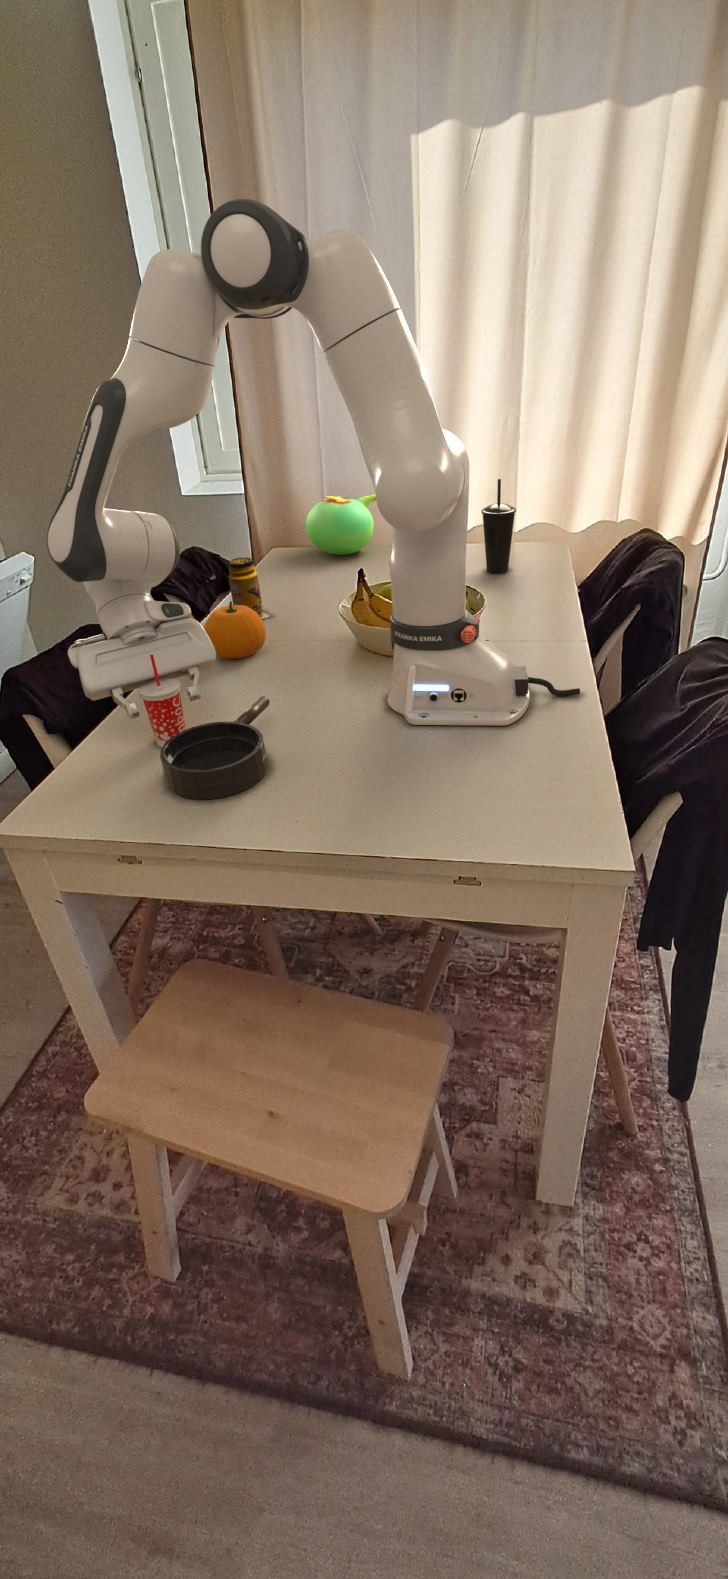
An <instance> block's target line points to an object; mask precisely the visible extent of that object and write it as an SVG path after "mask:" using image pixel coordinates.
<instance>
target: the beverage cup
mask: <svg viewBox="0 0 728 1579" xmlns="http://www.w3.org/2000/svg"><path fill="white" fill-rule="evenodd" d="M150 658H151V662H152V666H153V670H154V674H155V679H156V680H153V681H150V682H147V683H145V684H143V685H142V686H141V687H140V688H138V689H137V690H138V694H139V697H140V699H141V700H142V701H143V702H142V703H143V705H144V707H145V711H146V715H147V717H148V720H149V724H150V727H151V729H152V733H153V735H154V738H155V741H156V744H157V746H159V747H160V748H162V747H163V745H164V744H165V743H166V742H167V741H168V740H169V739H170V738H171V737H173V736H175V735H176V734H178V733H180V732H182V731H184V730H186V722H185V717H184V709H183V704H182V698H181V690H182V687H181V683H180V681H179V680H177V679H176V678H175V679H169V678H165V679H159V677H158V673H157V669H156V664H155V660H154V656H153V655H150Z"/></svg>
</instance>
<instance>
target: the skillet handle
mask: <svg viewBox="0 0 728 1579" xmlns="http://www.w3.org/2000/svg"><path fill="white" fill-rule="evenodd" d="M270 702H271V701H270V699H269V697H268V696H265V695H263V696H260V697H259V698H258V699H257V700H256V701H254V702H253V703H252V704H251V705H250V706H249V707H248V708H247V709H246V710H245V711H244V712H243V713H242V714H241V715H240V716H239V717H238V718H236V719H235V720H233V721H232V722H241V723H245V724H248V725H251V724H252V723H253V722H254V721H255V720H256V719H257V718H258V717H259V716H260V715H261V714H262V713H263V712H264V711H265V710H266V709H267V708H268V707H269V705H270V704H271V703H270ZM230 727H231V728H230V729H232V730H231V732H232V731H233V732H234V731H235V732H236V733H237V731H238V730H239V731H238V733H241V729H239V728H240V726H231V725H230ZM237 727H239V728H238V729H237ZM234 729H235V730H234Z"/></svg>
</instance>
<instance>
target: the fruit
mask: <svg viewBox="0 0 728 1579" xmlns="http://www.w3.org/2000/svg"><path fill="white" fill-rule="evenodd" d="M203 628H204V630H205V631H206V633H207V635H208V637H209V638H210V640H211V642H212V644H213V646H214V649H215V651H216V657H219V658H222V659H230V660H237V659H243V658H246V657H250V656H252V655H254V654H255V653H257V652H258V651H259V650H261V649H262V647H263V646H264V644H265V642H266V639H267V629H266V625H265V624H264V621H263V619H261V617H260V616H259V615H258V614H257V613H256V612H255V611H254V610H252V609H250V608H249V607H247V606H244V605H233V601H232V600H230V601H229V605H225V606H222V607H219V608H216V609H214V610H213V611H212V612H211V614H210V615H209V617H208V618H207V619H206V621H205V623H204V626H203Z"/></svg>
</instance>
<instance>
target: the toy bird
mask: <svg viewBox="0 0 728 1579" xmlns="http://www.w3.org/2000/svg"><path fill="white" fill-rule="evenodd" d="M374 502H376V495H375V493H374V494H369V495H365V496H362V497H358V498H355V499H353V498H351V497H347V496H340V495H336V496H334V495H333V496H331V495H325V498H324V499H323V500H321V501H319V502H317V503H315V505H313V506H312V508H311V509H310V510H309V512H308V514H307V517H306V520H305V532H306V534H307V537H308V539H309V541H310V543H312V544H313V546H314V547H316V548H317V549H318V550H320V551H322V552H324V553H327V554H330V555H337V556H344V555H351V554H354V553H356V552H358V551H360V550H362V549H364V547H366V546H367V545H368V543H369V542H370V540H371V539H372V536H373V533H374V530H375V529H374V528H375V523H374V522H375V521H374V519H373V516H372V513H371V511H370V510H369V508H368V507H369V506H370V505H371V504H373V503H374Z"/></svg>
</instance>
